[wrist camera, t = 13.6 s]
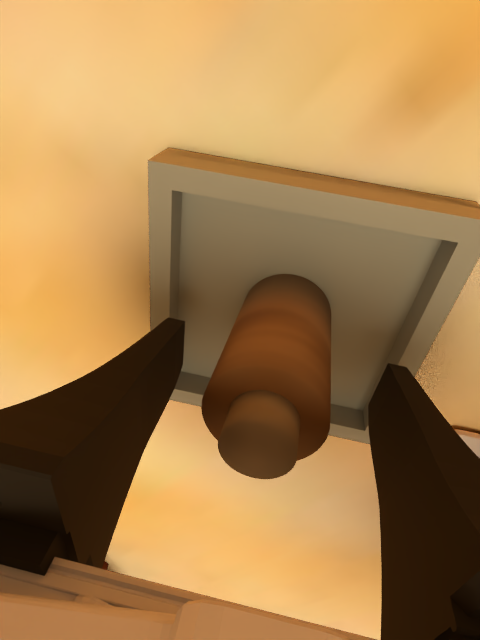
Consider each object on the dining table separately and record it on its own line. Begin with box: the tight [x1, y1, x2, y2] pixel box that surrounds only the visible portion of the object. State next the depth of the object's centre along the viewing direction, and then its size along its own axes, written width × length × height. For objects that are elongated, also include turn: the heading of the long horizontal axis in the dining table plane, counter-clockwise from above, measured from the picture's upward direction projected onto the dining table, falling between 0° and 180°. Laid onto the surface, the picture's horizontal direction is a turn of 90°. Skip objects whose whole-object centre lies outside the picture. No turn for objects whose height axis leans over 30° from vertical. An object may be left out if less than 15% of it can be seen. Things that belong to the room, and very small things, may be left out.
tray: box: [148, 148, 480, 444], centre depth 16 cm, size 11×11×2 cm
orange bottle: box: [202, 274, 331, 479], centre depth 13 cm, size 4×4×7 cm
